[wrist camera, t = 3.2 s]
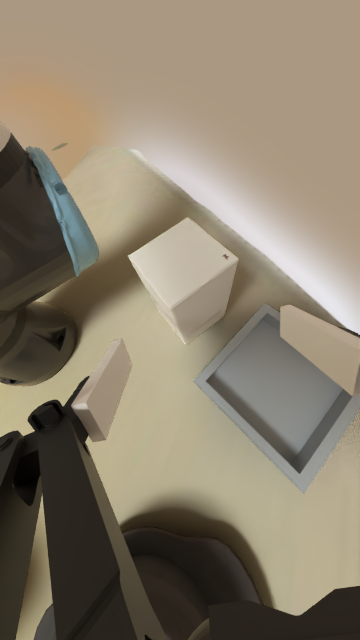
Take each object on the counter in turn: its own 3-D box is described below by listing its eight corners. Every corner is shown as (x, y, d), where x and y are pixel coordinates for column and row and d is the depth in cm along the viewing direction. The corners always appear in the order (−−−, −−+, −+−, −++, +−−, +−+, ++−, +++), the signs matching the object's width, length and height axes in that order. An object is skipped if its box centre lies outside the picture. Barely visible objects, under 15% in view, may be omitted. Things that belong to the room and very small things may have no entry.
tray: (194, 382, 28) (193, 381, 25) (258, 311, 31) (265, 302, 28) (289, 479, 22) (303, 494, 19) (356, 381, 25) (379, 380, 22)
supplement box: (194, 283, 35) (189, 212, 21) (225, 316, 32) (243, 257, 18) (156, 310, 34) (124, 253, 20) (185, 347, 30) (169, 309, 17)
